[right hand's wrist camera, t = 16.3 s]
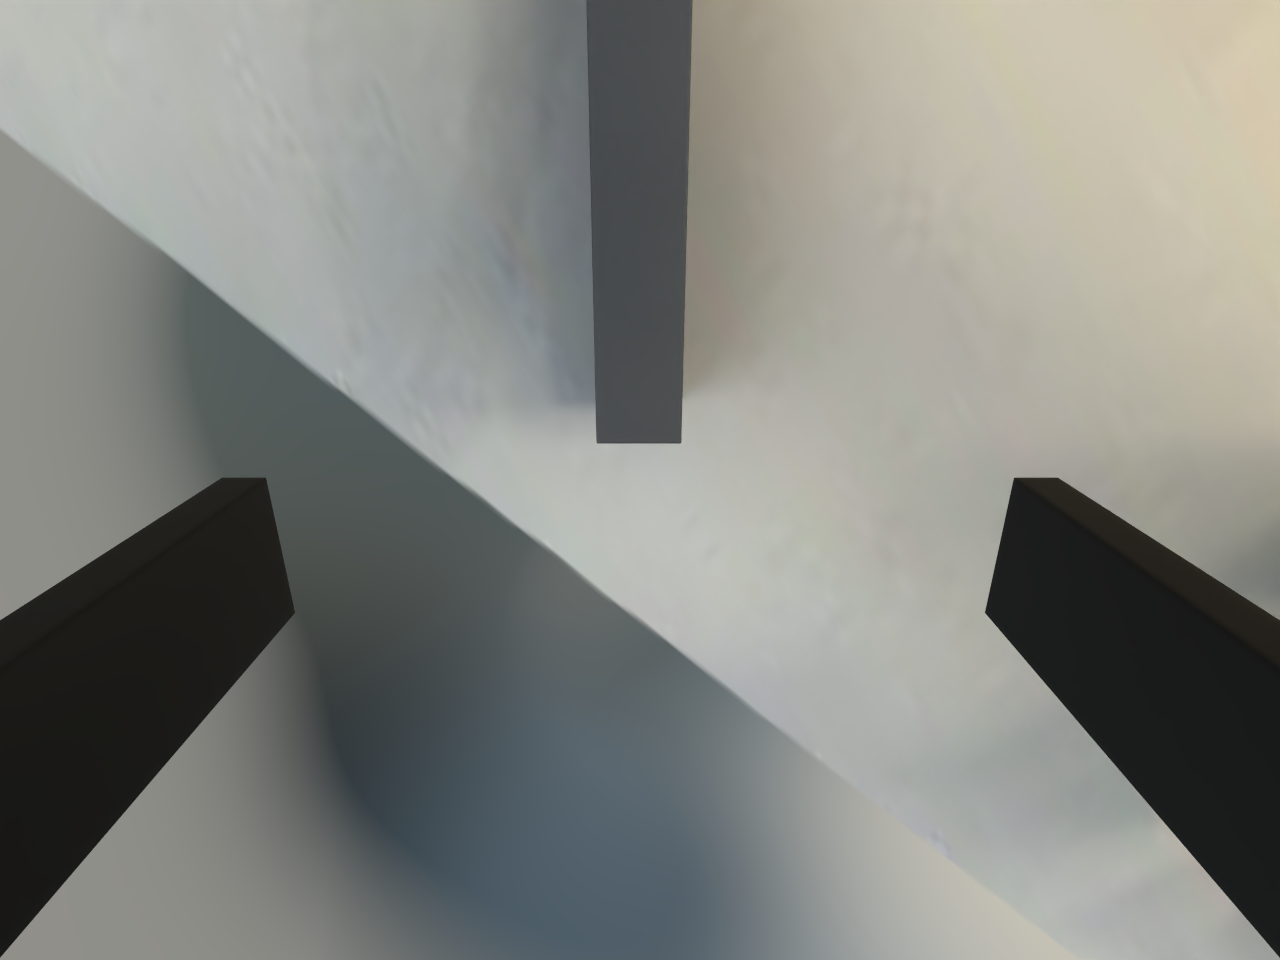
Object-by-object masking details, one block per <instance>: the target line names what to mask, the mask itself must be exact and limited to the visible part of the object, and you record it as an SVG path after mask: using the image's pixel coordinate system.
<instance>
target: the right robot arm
mask: <svg viewBox="0 0 1280 960" xmlns="http://www.w3.org/2000/svg"><path fill="white" fill-rule="evenodd" d="M294 613H295V611H294V606H293V601H292V597H291V592H290V588H289V583H288V578H287V574H286V569H285V565H284V560H283V555H282V550H281V546H280V541H279V536H278V532H277V527H276V523H275V518H274V513H273V509H272V504H271V499H270V495H269V490H268V486H267V481H266V478H221V479H220V480H218V481H216V482H215V483H213V484H212V485H210V486H209V487H207V488H206V489H204V490H202V491H201V492H199V493H198V494H196V495H195V496H193V497H192V498H190V499H189V500H187V501H185V502H184V503H182V504H181V505H179V506H178V507H176V508H174V509H173V510H171V511H170V512H168V513H167V514H165V515H164V516H162V517H160V518H159V519H157V520H156V521H154V522H153V523H151V524H150V525H148V526H146V527H145V528H143V529H142V530H140V531H139V532H137V533H136V534H134V535H132V536H131V537H129V538H128V539H126V540H125V541H123V542H121V543H120V544H118V545H117V546H115V547H114V548H112V549H111V550H109V551H107V552H106V553H104V554H103V555H101V556H100V557H98V558H97V559H95V560H94V561H92V562H90V563H89V564H87V565H86V566H84V567H83V568H81V569H80V570H78V571H76V572H75V573H73V574H72V575H70V576H69V577H67V578H65V579H64V580H62V581H61V582H59V583H58V584H56V585H55V586H53V587H51V588H50V589H48V590H47V591H45V592H44V593H42V594H41V595H39V596H37V597H36V598H34V599H33V600H31V601H30V602H28V603H27V604H25V605H24V606H22V607H20V608H19V609H17V610H16V611H14V612H13V613H11V614H9V615H8V616H6V617H5V618H3V619H2V620H0V957H1V956H2V955H3V954H4V952H5V951H6V950H7V949H8V948H9V947H10V945H11V944H12V943H13V942H14V941H15V939H16V938H17V937H18V936H19V935H20V934H21V932H22V931H23V930H24V929H25V928H26V927H27V926H28V924H29V923H30V922H31V921H32V920H33V918H34V917H35V916H36V915H37V914H38V913H39V911H40V910H41V909H42V908H43V907H44V906H45V904H46V903H47V902H48V901H49V900H50V899H51V897H52V896H53V895H54V894H55V893H56V892H57V890H58V889H59V888H60V887H61V886H62V885H63V883H64V882H65V881H66V880H67V879H68V877H69V876H70V875H71V874H72V873H73V872H74V871H75V869H76V868H77V867H78V866H79V865H80V864H81V862H82V861H83V860H84V859H85V858H86V857H87V855H88V854H89V853H90V852H91V851H92V850H93V848H94V847H95V846H96V845H97V844H98V842H99V841H100V840H101V839H102V838H103V837H104V835H105V834H106V833H107V832H108V831H109V830H110V828H111V827H112V826H113V825H114V824H115V823H116V821H117V820H118V819H119V818H120V817H121V816H122V814H123V813H124V812H125V811H126V810H127V809H128V807H129V806H130V805H131V804H132V803H133V802H134V800H135V799H136V798H137V797H138V796H139V794H140V793H141V792H142V791H143V790H144V789H145V787H146V786H147V785H148V784H149V783H150V782H151V780H152V779H153V778H154V777H155V776H156V775H157V773H158V772H159V771H160V770H161V769H162V768H163V766H164V765H165V764H166V763H167V762H168V761H169V759H170V758H171V757H172V756H173V755H174V754H175V752H176V751H177V750H178V749H179V748H180V747H181V745H182V744H183V743H184V742H185V741H186V740H187V738H188V737H189V736H190V735H191V734H192V733H193V731H194V730H195V729H196V728H197V727H198V726H199V724H200V723H201V722H202V721H203V720H204V719H205V717H206V716H207V715H208V714H209V713H210V711H211V710H212V709H213V708H214V707H215V706H216V704H217V703H218V702H219V701H220V700H221V699H222V697H223V696H224V695H225V694H226V693H227V692H228V690H229V689H230V688H231V687H232V686H233V685H234V683H235V682H236V681H237V680H238V679H239V678H240V676H241V675H242V674H243V673H244V672H245V671H246V669H247V668H248V667H249V666H250V665H251V663H252V662H253V661H254V660H255V659H256V658H257V657H258V655H259V654H260V653H261V652H262V651H263V649H264V648H265V647H266V646H267V645H268V644H269V643H270V641H271V640H272V639H273V638H274V637H275V636H276V634H277V633H278V632H279V631H280V630H281V628H282V627H283V626H284V625H285V624H286V623H287V621H288V620H289V619H290V618H291V617H292V616H293V614H294ZM985 613H986V614H987V616H988V617H989V618H990V619H991V620H992V621H993V623H994V624H995V625H996V626H997V627H998V628H999V630H1000V631H1001V632H1002V633H1003V634H1004V636H1005V637H1006V638H1007V639H1008V640H1009V641H1010V643H1011V644H1012V645H1013V646H1014V647H1015V648H1016V650H1017V651H1018V652H1019V653H1020V654H1021V655H1022V657H1023V658H1024V659H1025V660H1026V661H1027V662H1028V664H1029V665H1030V666H1031V667H1032V668H1033V669H1034V671H1035V672H1036V673H1037V674H1038V675H1039V676H1040V678H1041V679H1042V680H1043V681H1044V682H1045V683H1046V685H1047V686H1048V687H1049V688H1050V689H1051V690H1052V692H1053V693H1054V694H1055V695H1056V696H1057V697H1058V699H1059V700H1060V701H1061V702H1062V703H1063V704H1064V706H1065V707H1066V708H1067V709H1068V710H1069V712H1070V713H1071V714H1072V715H1073V716H1074V717H1075V719H1076V720H1077V721H1078V722H1079V723H1080V724H1081V726H1082V727H1083V728H1084V729H1085V730H1086V731H1087V733H1088V734H1089V735H1090V736H1091V737H1092V738H1093V740H1094V741H1095V742H1096V743H1097V744H1098V745H1099V747H1100V748H1101V749H1102V750H1103V751H1104V752H1105V754H1106V755H1107V756H1108V757H1109V758H1110V759H1111V761H1112V762H1113V763H1114V764H1115V765H1116V766H1117V768H1118V769H1119V770H1120V771H1121V772H1122V773H1123V775H1124V776H1125V777H1126V778H1127V779H1128V781H1129V782H1130V783H1131V784H1132V785H1133V786H1134V788H1135V789H1136V790H1137V791H1138V792H1139V793H1140V795H1141V796H1142V797H1143V798H1144V799H1145V800H1146V802H1147V803H1148V804H1149V805H1150V806H1151V807H1152V809H1153V810H1154V811H1155V812H1156V813H1157V814H1158V816H1159V817H1160V818H1161V819H1162V820H1163V821H1164V823H1165V824H1166V825H1167V826H1168V827H1169V828H1170V830H1171V831H1172V832H1173V833H1174V834H1175V835H1176V837H1177V838H1178V839H1179V840H1180V841H1181V842H1182V844H1183V845H1184V846H1185V847H1186V848H1187V850H1188V851H1189V852H1190V853H1191V854H1192V855H1193V857H1194V858H1195V859H1196V860H1197V861H1198V862H1199V864H1200V865H1201V866H1202V867H1203V868H1204V869H1205V871H1206V872H1207V873H1208V874H1209V875H1210V876H1211V878H1212V879H1213V880H1214V881H1215V882H1216V883H1217V885H1218V886H1219V887H1220V888H1221V889H1222V890H1223V892H1224V893H1225V894H1226V895H1227V896H1228V897H1229V899H1230V900H1231V901H1232V902H1233V903H1234V904H1235V906H1236V907H1237V908H1238V909H1239V910H1240V911H1241V913H1242V914H1243V915H1244V916H1245V917H1246V918H1247V920H1248V921H1249V922H1250V923H1251V924H1252V926H1253V927H1254V928H1255V929H1256V930H1257V931H1258V933H1259V934H1260V935H1261V936H1262V937H1263V938H1264V940H1265V941H1266V942H1267V943H1268V944H1269V945H1270V947H1271V948H1272V949H1273V950H1274V951H1275V952H1276V954H1277V955H1278V956H1279V957H1280V620H1278V619H1277V618H1275V617H1274V616H1272V615H1271V614H1269V613H1267V612H1266V611H1264V610H1263V609H1261V608H1260V607H1258V606H1257V605H1255V604H1253V603H1252V602H1250V601H1249V600H1247V599H1246V598H1244V597H1243V596H1241V595H1239V594H1238V593H1236V592H1235V591H1233V590H1232V589H1230V588H1229V587H1227V586H1225V585H1224V584H1222V583H1221V582H1219V581H1218V580H1216V579H1215V578H1213V577H1211V576H1210V575H1208V574H1207V573H1205V572H1204V571H1202V570H1201V569H1199V568H1197V567H1196V566H1194V565H1193V564H1191V563H1190V562H1188V561H1187V560H1185V559H1183V558H1182V557H1180V556H1179V555H1177V554H1176V553H1174V552H1173V551H1171V550H1169V549H1168V548H1166V547H1165V546H1163V545H1162V544H1160V543H1159V542H1157V541H1155V540H1154V539H1152V538H1151V537H1149V536H1148V535H1146V534H1144V533H1143V532H1141V531H1140V530H1138V529H1137V528H1135V527H1134V526H1132V525H1130V524H1129V523H1127V522H1126V521H1124V520H1123V519H1121V518H1120V517H1118V516H1116V515H1115V514H1113V513H1112V512H1110V511H1109V510H1107V509H1106V508H1104V507H1102V506H1101V505H1099V504H1098V503H1096V502H1095V501H1093V500H1092V499H1090V498H1088V497H1087V496H1085V495H1084V494H1082V493H1081V492H1079V491H1078V490H1076V489H1074V488H1073V487H1071V486H1070V485H1068V484H1067V483H1065V482H1064V481H1062V480H1060V479H1059V478H1014V481H1013V485H1012V490H1011V495H1010V499H1009V504H1008V509H1007V513H1006V518H1005V522H1004V527H1003V532H1002V536H1001V541H1000V546H999V550H998V555H997V560H996V564H995V569H994V574H993V578H992V583H991V588H990V592H989V597H988V601H987V606H986V611H985Z"/></svg>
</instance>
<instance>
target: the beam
mask: <svg viewBox="0 0 1280 960" xmlns="http://www.w3.org/2000/svg"><path fill="white" fill-rule="evenodd" d="M691 32H692V0H587V40H588V83H589V127H590V171H591V215H592V259H593V303H594V347H595V391H596V435H597V443H681V428H682V388H683V349H684V309H685V269H686V230H687V190H688V151H689V111H690V71H691Z"/></svg>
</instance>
